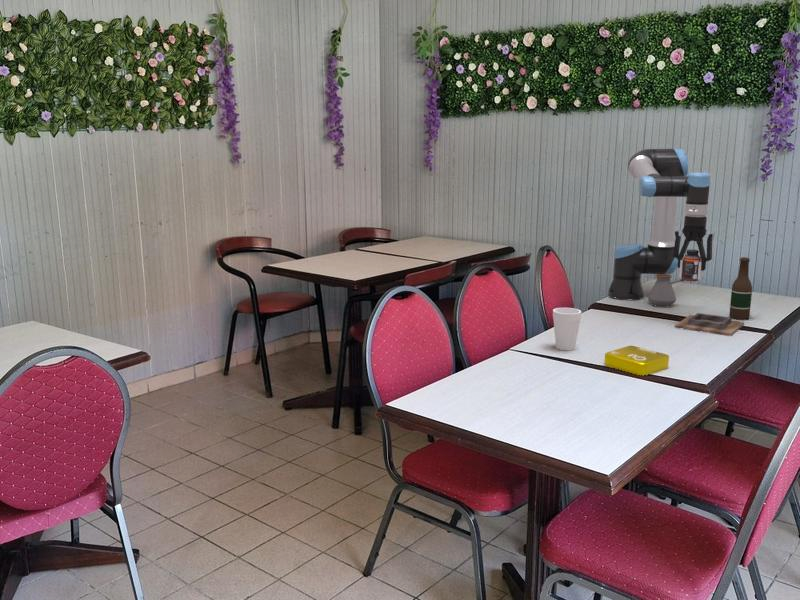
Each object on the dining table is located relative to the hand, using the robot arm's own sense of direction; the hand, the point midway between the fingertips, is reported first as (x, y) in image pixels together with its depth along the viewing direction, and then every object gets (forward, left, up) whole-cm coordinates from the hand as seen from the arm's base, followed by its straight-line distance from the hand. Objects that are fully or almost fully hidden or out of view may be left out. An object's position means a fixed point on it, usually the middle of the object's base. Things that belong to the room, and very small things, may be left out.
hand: (690, 277), depth 279 cm
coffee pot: (-14, +31, -19) cm, 39 cm away
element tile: (+1, -59, -19) cm, 62 cm away
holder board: (+7, +6, -19) cm, 21 cm away
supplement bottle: (0, 0, -1) cm, 1 cm away
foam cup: (-25, -53, -19) cm, 62 cm away
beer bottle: (+13, +26, -19) cm, 35 cm away
